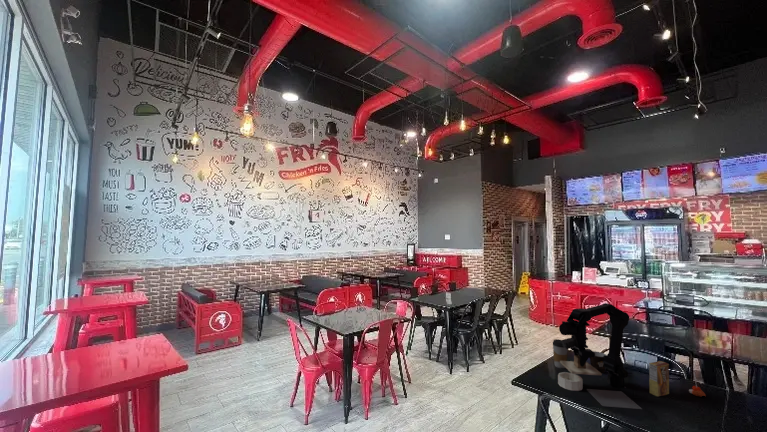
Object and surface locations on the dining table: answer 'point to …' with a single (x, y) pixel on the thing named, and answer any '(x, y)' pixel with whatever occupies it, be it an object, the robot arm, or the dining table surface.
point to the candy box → (659, 378)
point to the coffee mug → (598, 361)
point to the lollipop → (696, 389)
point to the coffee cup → (559, 353)
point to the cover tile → (578, 370)
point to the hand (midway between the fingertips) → (579, 364)
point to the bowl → (570, 381)
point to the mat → (613, 398)
